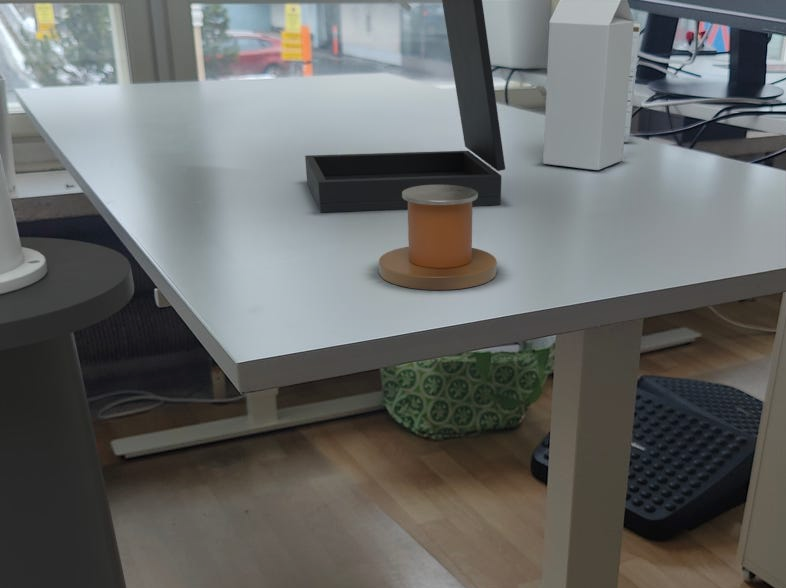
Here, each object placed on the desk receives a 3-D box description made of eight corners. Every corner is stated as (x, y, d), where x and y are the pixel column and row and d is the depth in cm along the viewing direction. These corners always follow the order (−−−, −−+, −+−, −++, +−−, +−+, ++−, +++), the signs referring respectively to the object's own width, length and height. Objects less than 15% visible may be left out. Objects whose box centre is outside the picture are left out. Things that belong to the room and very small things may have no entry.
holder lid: (466, -46, 82) (475, -48, 82) (434, -47, 94) (442, -48, 94) (497, 171, 92) (505, 169, 92) (464, 146, 103) (472, 145, 103)
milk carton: (598, 171, 109) (612, -19, 99) (542, 165, 112) (550, -20, 102) (622, 162, 114) (638, -20, 104) (568, 156, 117) (578, -21, 107)
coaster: (390, 293, 69) (389, 280, 68) (371, 259, 76) (370, 247, 76) (510, 286, 71) (510, 272, 70) (480, 253, 78) (480, 241, 78)
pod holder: (320, 212, 90) (318, 182, 88) (307, 183, 101) (305, 155, 100) (500, 204, 94) (501, 175, 92) (468, 177, 105) (468, 150, 104)
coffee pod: (411, 272, 70) (409, 202, 68) (397, 251, 75) (395, 186, 72) (484, 267, 71) (486, 199, 69) (467, 248, 76) (467, 183, 73)
